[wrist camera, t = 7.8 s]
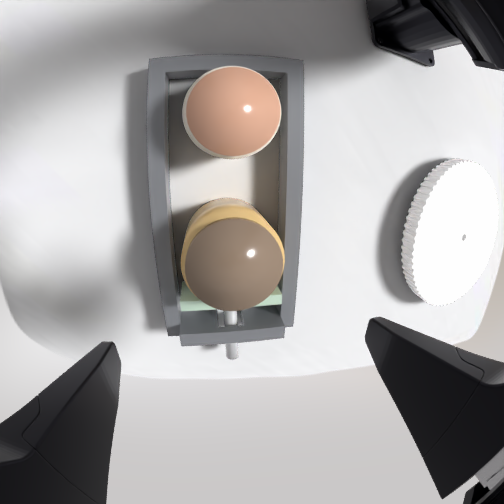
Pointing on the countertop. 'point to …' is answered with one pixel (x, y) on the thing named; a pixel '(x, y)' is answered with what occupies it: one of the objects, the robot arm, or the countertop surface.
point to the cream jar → (231, 112)
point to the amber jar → (231, 255)
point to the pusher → (230, 317)
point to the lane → (289, 208)
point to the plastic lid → (449, 231)
